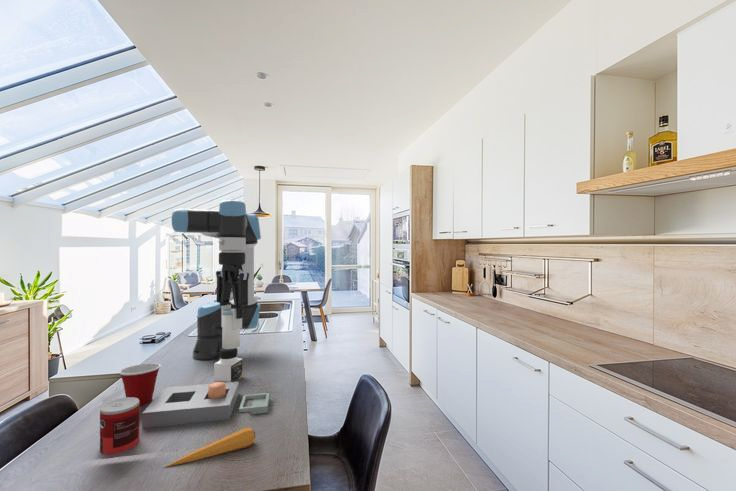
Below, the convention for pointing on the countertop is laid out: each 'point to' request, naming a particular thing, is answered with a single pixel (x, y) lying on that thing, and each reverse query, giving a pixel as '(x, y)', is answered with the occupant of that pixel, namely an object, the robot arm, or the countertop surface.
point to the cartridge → (229, 331)
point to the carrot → (221, 446)
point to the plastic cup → (140, 381)
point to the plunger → (217, 390)
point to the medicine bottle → (228, 366)
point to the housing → (189, 406)
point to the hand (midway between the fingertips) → (231, 327)
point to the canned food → (119, 425)
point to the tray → (255, 403)
